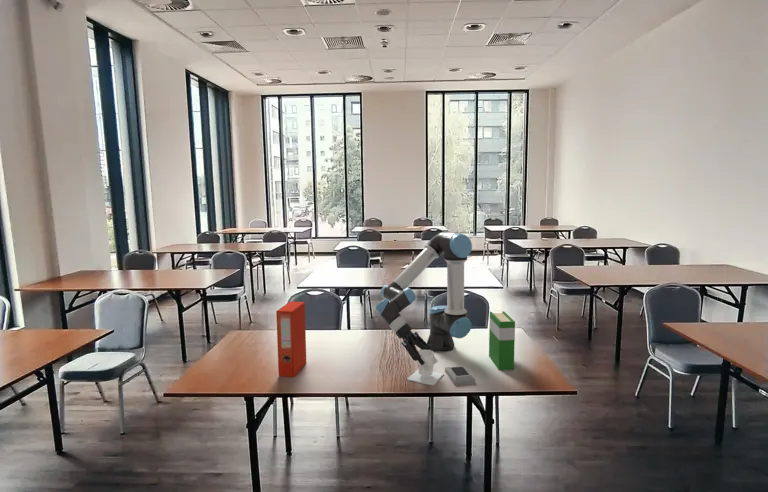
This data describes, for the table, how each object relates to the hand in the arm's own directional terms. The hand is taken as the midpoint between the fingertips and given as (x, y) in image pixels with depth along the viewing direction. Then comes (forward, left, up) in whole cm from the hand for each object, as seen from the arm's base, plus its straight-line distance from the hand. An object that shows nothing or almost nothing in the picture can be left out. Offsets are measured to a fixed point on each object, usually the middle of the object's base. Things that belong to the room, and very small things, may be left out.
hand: (432, 366), depth 211 cm
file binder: (+20, -65, -6) cm, 69 cm away
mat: (0, -3, -6) cm, 7 cm away
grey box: (-7, +11, -7) cm, 15 cm away
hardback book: (-33, +24, -6) cm, 41 cm away
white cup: (0, -3, -4) cm, 6 cm away
